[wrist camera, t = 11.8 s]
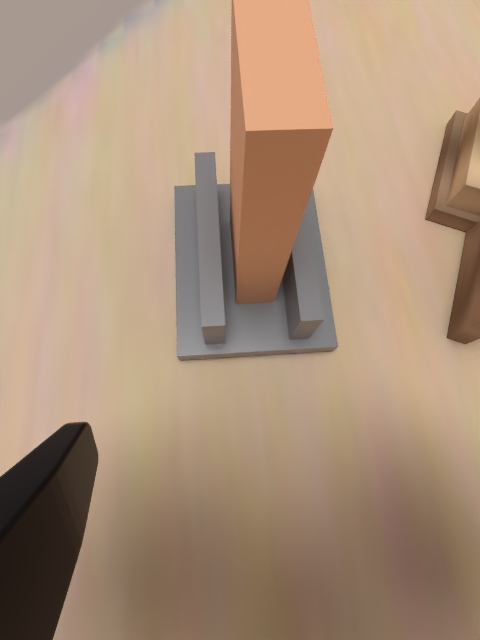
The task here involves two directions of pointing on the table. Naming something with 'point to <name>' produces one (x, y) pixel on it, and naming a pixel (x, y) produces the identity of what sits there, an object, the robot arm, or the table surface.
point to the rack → (461, 215)
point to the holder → (218, 282)
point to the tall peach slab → (272, 138)
